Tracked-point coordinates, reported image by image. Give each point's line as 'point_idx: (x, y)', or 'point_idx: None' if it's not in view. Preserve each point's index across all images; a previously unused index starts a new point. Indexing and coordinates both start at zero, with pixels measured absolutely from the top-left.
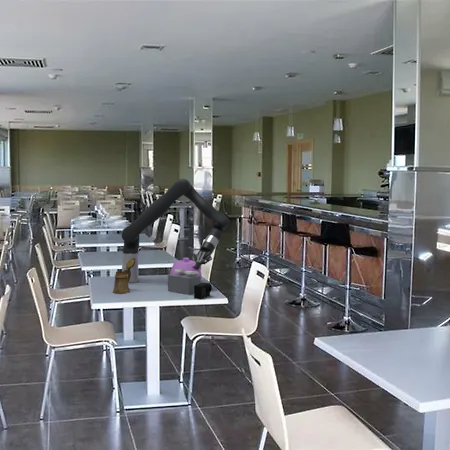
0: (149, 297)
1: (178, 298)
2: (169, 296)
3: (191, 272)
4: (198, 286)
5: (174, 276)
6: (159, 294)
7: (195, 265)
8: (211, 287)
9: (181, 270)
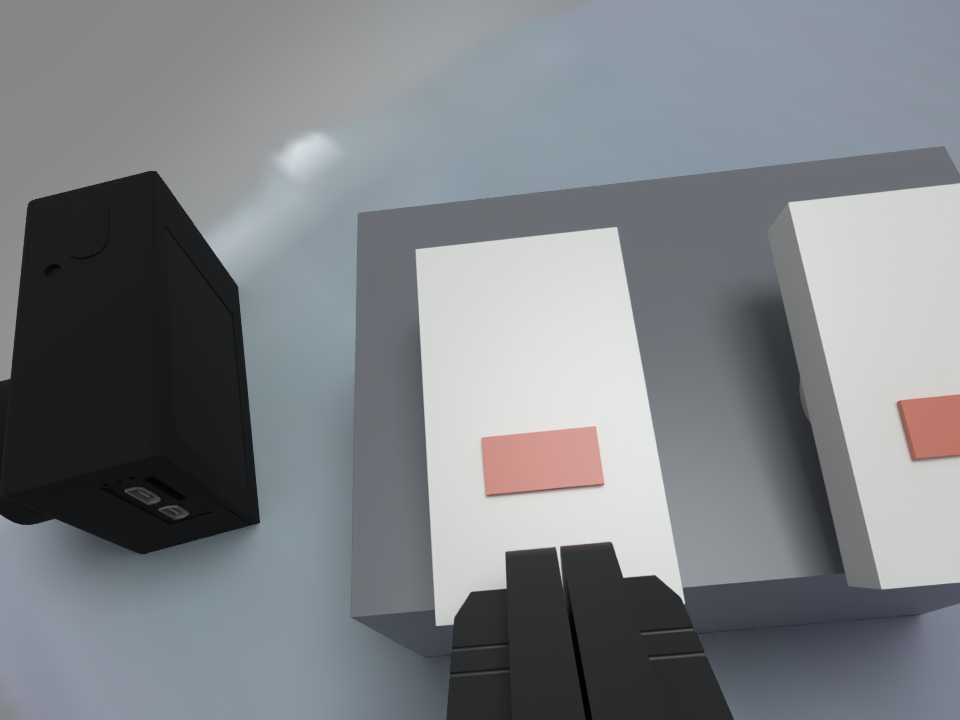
0: (643, 22)
1: (381, 173)
2: (533, 165)
3: (420, 292)
4: (80, 193)
5: (754, 173)
6: (702, 150)
7: (607, 600)
8: (16, 511)
9: (791, 247)
